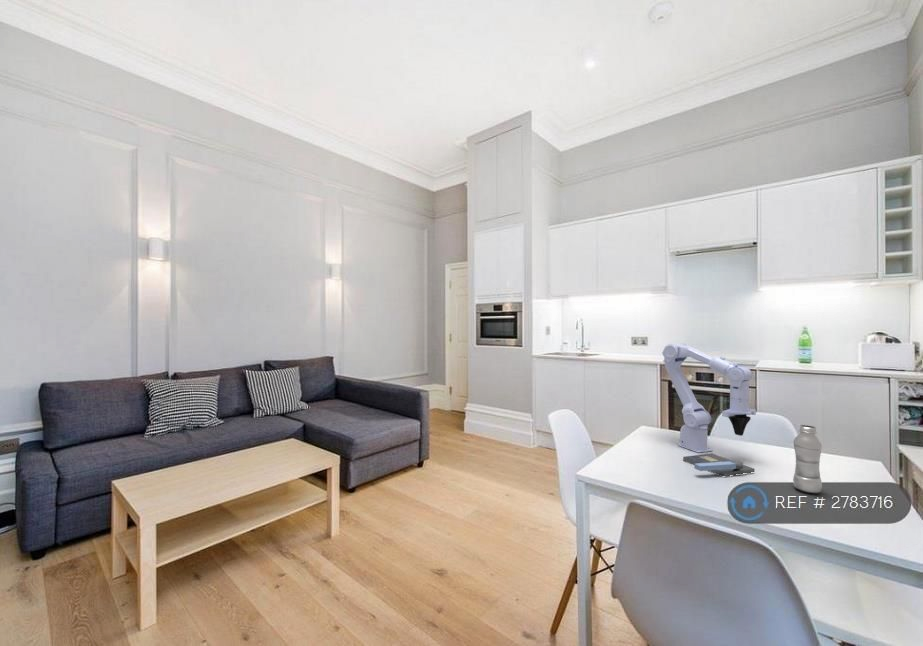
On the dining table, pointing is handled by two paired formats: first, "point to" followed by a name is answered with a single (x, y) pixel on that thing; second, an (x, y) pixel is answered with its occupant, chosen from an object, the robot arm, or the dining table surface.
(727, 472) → the chassis
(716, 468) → the cable arm
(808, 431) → the plastic bottle
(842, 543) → the dining table surface
